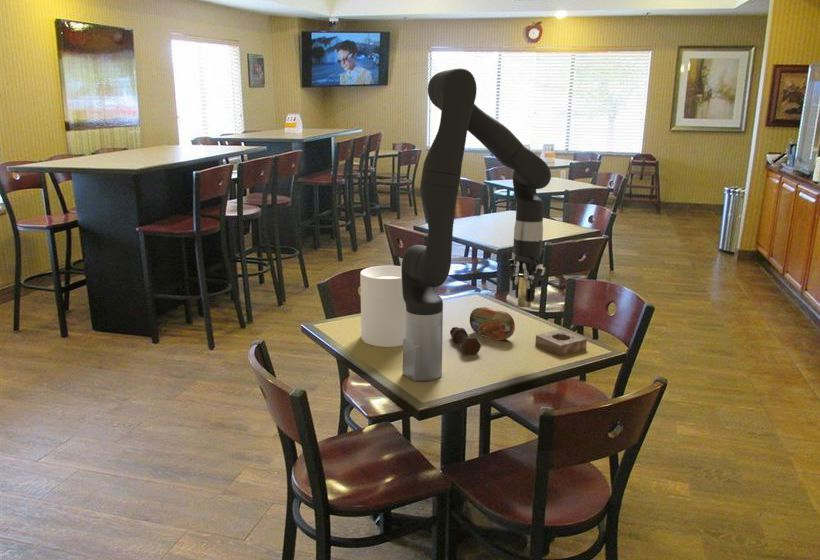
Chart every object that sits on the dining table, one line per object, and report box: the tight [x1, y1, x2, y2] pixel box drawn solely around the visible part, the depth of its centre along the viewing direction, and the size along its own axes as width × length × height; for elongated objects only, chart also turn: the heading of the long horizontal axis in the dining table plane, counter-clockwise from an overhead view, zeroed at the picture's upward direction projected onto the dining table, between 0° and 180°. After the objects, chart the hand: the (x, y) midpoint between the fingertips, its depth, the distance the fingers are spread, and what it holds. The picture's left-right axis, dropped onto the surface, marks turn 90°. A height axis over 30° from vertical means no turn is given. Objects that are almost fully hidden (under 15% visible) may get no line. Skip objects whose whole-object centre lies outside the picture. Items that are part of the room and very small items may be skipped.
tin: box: [469, 306, 516, 341], centre depth 195 cm, size 15×3×8 cm, turn 47°
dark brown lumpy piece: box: [449, 326, 482, 356], centre depth 188 cm, size 6×5×15 cm
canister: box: [359, 265, 406, 348], centre depth 193 cm, size 16×16×20 cm
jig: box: [535, 328, 588, 357], centre depth 187 cm, size 10×10×3 cm
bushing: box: [517, 275, 532, 308], centre depth 178 cm, size 4×4×8 cm
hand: (524, 299), depth 178 cm, fingers closed on bushing, 3 cm apart
